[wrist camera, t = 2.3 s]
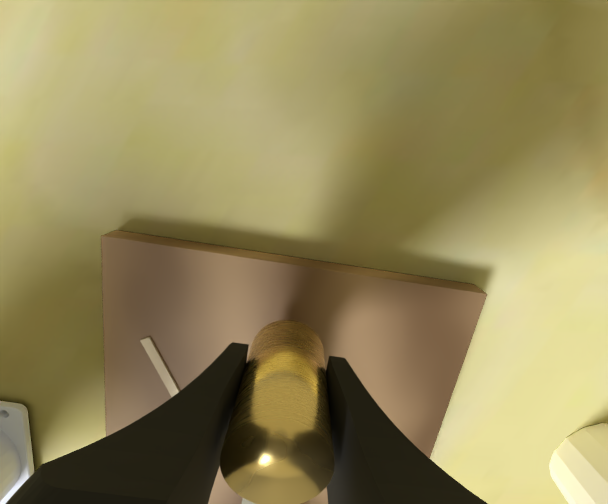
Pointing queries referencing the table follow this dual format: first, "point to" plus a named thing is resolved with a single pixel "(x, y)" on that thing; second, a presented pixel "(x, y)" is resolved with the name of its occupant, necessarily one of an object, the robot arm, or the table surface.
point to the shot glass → (583, 466)
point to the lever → (280, 420)
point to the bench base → (269, 308)
